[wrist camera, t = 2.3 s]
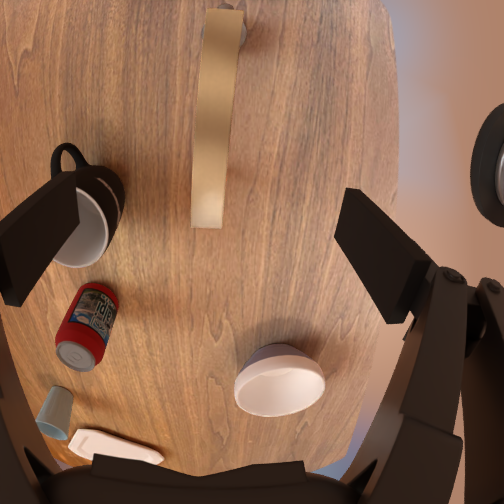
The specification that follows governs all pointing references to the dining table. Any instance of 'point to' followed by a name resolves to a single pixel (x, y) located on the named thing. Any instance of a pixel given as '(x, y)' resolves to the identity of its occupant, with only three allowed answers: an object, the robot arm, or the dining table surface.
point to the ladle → (215, 113)
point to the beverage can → (86, 327)
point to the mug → (90, 209)
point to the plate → (110, 446)
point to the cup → (56, 413)
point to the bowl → (278, 382)
